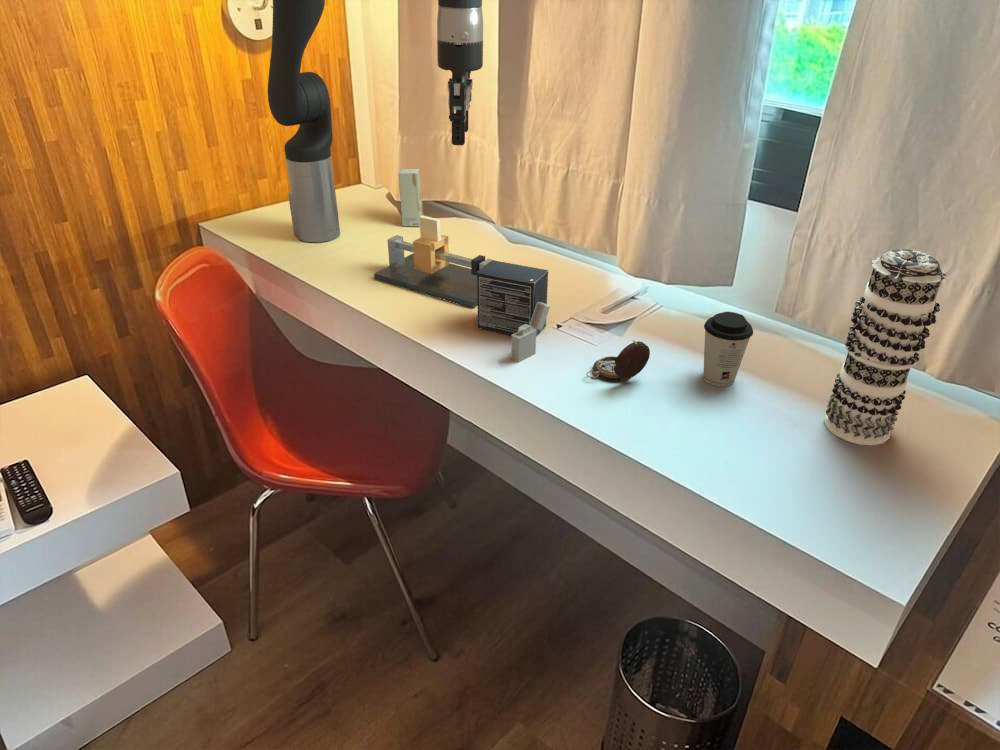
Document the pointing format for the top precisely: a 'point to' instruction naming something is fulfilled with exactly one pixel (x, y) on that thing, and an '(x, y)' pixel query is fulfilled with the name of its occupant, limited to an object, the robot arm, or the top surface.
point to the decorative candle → (884, 345)
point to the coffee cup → (725, 347)
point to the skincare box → (410, 197)
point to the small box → (509, 296)
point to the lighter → (528, 334)
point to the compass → (622, 363)
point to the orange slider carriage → (429, 246)
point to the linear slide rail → (442, 283)
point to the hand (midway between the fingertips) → (460, 138)
